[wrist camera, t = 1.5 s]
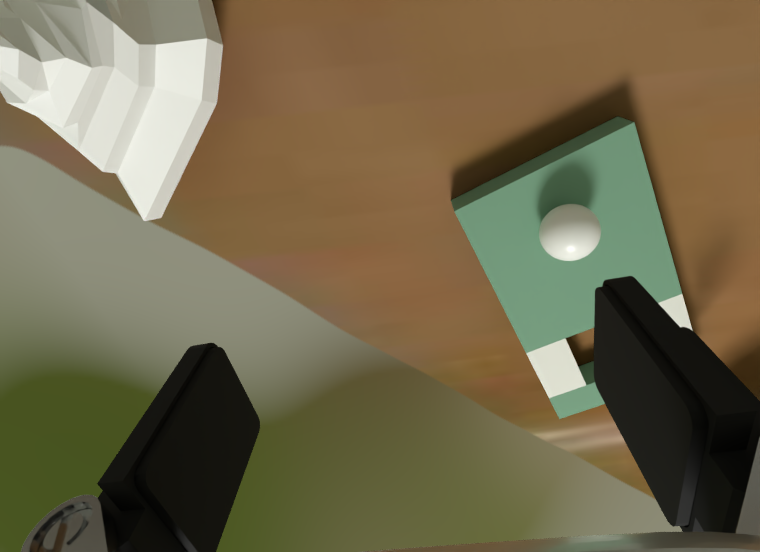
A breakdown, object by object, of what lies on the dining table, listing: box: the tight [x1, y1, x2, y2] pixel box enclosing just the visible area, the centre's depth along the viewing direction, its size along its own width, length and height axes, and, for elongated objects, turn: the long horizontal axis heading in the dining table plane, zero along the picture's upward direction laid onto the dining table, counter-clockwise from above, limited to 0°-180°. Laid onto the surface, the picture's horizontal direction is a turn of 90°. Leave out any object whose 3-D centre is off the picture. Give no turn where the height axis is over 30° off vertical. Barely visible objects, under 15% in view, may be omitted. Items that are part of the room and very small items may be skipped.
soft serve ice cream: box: [0, 0, 223, 221], centre depth 25 cm, size 12×15×14 cm
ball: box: [539, 204, 601, 261], centre depth 31 cm, size 4×4×4 cm
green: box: [451, 116, 693, 419], centre depth 33 cm, size 13×24×10 cm, turn 30°
